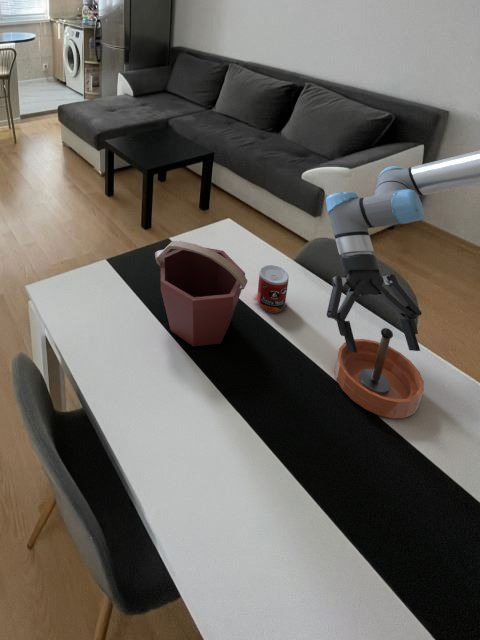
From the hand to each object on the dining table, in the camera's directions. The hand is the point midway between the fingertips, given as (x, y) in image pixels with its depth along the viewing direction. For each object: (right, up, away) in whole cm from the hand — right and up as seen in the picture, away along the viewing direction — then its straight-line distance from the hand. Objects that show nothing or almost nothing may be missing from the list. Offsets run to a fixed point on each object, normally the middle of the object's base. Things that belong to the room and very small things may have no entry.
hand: (383, 351), depth 97 cm
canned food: (-12, -1, +30) cm, 32 cm away
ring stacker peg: (0, -10, +4) cm, 10 cm away
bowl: (+1, -10, +4) cm, 11 cm away
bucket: (-35, -5, +26) cm, 44 cm away
